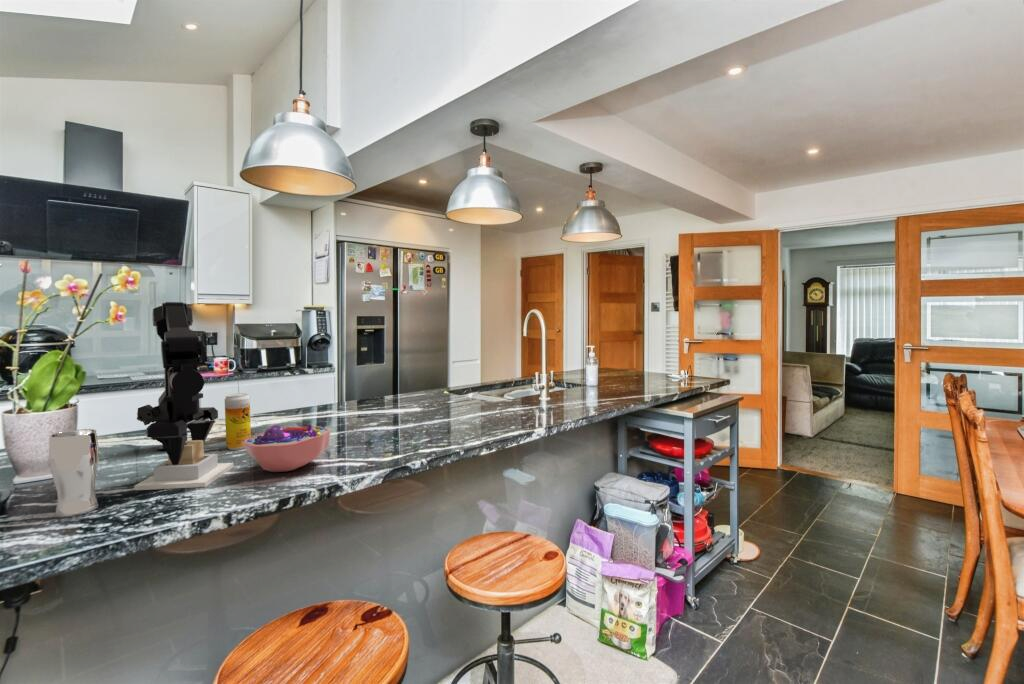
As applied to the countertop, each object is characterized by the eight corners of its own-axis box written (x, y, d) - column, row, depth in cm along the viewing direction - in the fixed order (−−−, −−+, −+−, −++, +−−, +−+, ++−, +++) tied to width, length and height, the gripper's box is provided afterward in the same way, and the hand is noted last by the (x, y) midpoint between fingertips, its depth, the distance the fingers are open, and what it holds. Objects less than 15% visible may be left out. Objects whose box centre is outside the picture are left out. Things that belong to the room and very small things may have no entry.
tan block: (181, 470, 111) (180, 439, 111) (204, 469, 112) (203, 438, 112) (169, 477, 106) (167, 444, 106) (193, 476, 107) (191, 444, 107)
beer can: (240, 451, 131) (238, 397, 130) (221, 450, 132) (219, 396, 131) (256, 445, 136) (254, 393, 136) (237, 444, 138) (236, 392, 137)
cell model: (346, 463, 120) (345, 419, 119) (267, 487, 103) (266, 435, 102) (307, 452, 129) (306, 411, 128) (229, 472, 113) (227, 425, 112)
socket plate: (171, 469, 115) (171, 453, 115) (233, 466, 117) (233, 450, 117) (134, 490, 101) (133, 471, 101) (205, 486, 103) (204, 468, 103)
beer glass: (48, 521, 86) (44, 439, 85) (56, 509, 92) (51, 432, 91) (99, 512, 90) (95, 433, 89) (103, 500, 96) (99, 427, 95)
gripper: (168, 385, 116) (171, 448, 117) (116, 398, 98) (120, 473, 99) (217, 384, 118) (220, 446, 119) (175, 397, 99) (178, 470, 100)
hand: (186, 458), depth 109 cm, fingers open, 9 cm apart
